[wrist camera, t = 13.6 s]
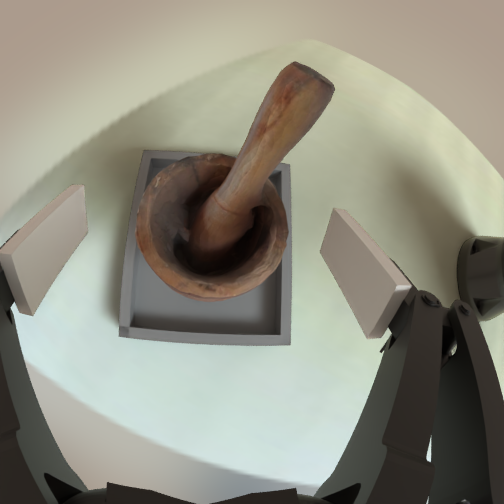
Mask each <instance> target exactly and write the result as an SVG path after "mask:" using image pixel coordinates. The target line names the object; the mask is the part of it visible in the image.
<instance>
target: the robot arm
mask: <svg viewBox="0 0 504 504" xmlns="http://www.w3.org/2000/svg"><path fill="white" fill-rule="evenodd" d="M87 233H88V225H87V216H86V205H85V191H84V185H71V186H70V187H68V188H67V189H66V190H65V191H63V192H62V193H61V194H60V195H58V196H57V197H56V198H55V199H53V200H52V201H51V202H50V203H49V204H48V205H46V206H45V207H44V208H43V209H42V210H41V211H39V212H38V213H37V214H36V215H35V216H34V217H33V218H32V219H31V220H29V221H28V222H27V223H26V224H25V225H24V226H23V227H22V228H21V229H19V230H17V231H16V232H15V233H14V234H13V235H12V236H11V238H9V239H8V240H7V241H6V243H4V244H3V245H2V246H1V247H0V504H195V503H191V502H188V501H184V500H180V499H177V498H173V497H170V496H167V495H164V494H161V493H158V492H155V491H152V490H146V489H139V488H133V487H128V486H122V485H118V484H113V483H109V482H107V488H102V489H94V490H88V489H87V487H86V486H85V485H84V483H83V482H82V480H81V479H80V478H79V477H78V476H77V474H76V473H75V472H74V471H73V470H72V469H71V467H70V466H69V465H68V463H67V462H66V460H65V458H64V457H63V455H62V453H61V451H60V449H59V447H58V445H57V443H56V441H55V439H54V437H53V435H52V433H51V431H50V429H49V427H48V425H47V422H46V420H45V418H44V415H43V413H42V411H41V408H40V406H39V403H38V400H37V398H36V395H35V392H34V389H33V387H32V384H31V381H30V378H29V375H28V372H27V368H26V365H25V361H24V358H23V354H22V350H21V347H20V343H19V338H18V334H17V330H16V325H15V320H14V315H13V312H12V310H11V308H10V307H11V306H12V304H13V303H14V301H15V304H16V306H17V308H18V311H19V313H22V314H26V315H31V316H33V315H34V314H35V312H36V310H37V308H38V307H39V305H40V303H41V302H42V300H43V298H44V296H45V295H46V293H47V292H48V290H49V288H50V287H51V285H52V284H53V282H54V280H55V279H56V277H57V276H58V274H59V273H60V271H61V270H62V268H63V267H64V265H65V264H66V262H67V261H68V259H69V258H70V257H71V255H72V254H73V252H74V251H75V250H76V248H77V247H78V245H79V244H80V243H81V241H82V240H83V239H84V237H85V236H86V235H87ZM320 253H321V255H322V257H323V258H324V260H325V262H326V264H327V265H328V267H329V269H330V271H331V273H332V274H333V276H334V278H335V280H336V281H337V283H338V285H339V287H340V289H341V291H342V292H343V294H344V296H345V298H346V300H347V302H348V304H349V305H350V307H351V309H352V311H353V313H354V315H355V317H356V319H357V321H358V323H359V324H360V326H361V328H362V330H363V332H364V334H365V336H366V338H367V339H373V338H381V337H382V336H383V334H384V333H385V331H386V330H387V328H388V327H389V329H390V331H391V333H392V334H391V336H390V337H389V339H388V340H387V342H386V343H385V345H384V346H383V348H382V349H381V350H380V352H381V353H382V352H383V351H384V354H383V357H382V360H381V363H380V366H379V369H378V372H377V375H376V378H375V380H374V383H373V386H372V389H371V391H370V394H369V396H368V399H367V401H366V404H365V406H364V409H363V411H362V414H361V416H360V418H359V421H358V423H357V425H356V428H355V430H354V432H353V434H352V436H351V438H350V440H349V443H348V445H347V447H346V449H345V451H344V453H343V455H342V457H341V459H340V461H339V462H338V464H337V466H336V468H335V470H334V471H333V473H332V474H331V476H330V477H329V478H328V479H327V480H326V481H325V482H324V483H323V484H322V486H321V487H320V488H319V489H318V491H317V492H316V494H315V495H314V497H312V496H308V495H302V494H297V491H296V488H293V489H286V490H279V491H270V492H262V493H261V492H260V493H251V494H247V495H243V496H240V497H236V498H232V499H228V500H225V501H220V502H216V503H211V504H426V502H427V499H428V496H429V501H428V504H504V400H503V396H502V392H501V388H500V384H499V380H498V377H497V373H496V370H495V367H494V363H493V360H492V357H491V354H490V351H489V348H488V346H487V343H486V340H485V337H484V335H483V332H482V329H481V327H480V324H479V322H480V321H488V320H491V319H493V318H495V317H497V316H498V315H500V314H502V313H504V237H490V236H476V237H474V238H471V239H468V240H467V241H465V243H464V244H463V246H462V248H461V250H460V254H459V258H458V270H457V274H458V287H459V292H460V297H461V300H462V301H460V300H455V301H454V303H453V304H452V306H451V307H450V309H449V308H445V307H442V305H441V302H440V301H439V300H438V299H437V298H436V297H435V296H434V295H433V294H431V293H429V292H427V291H423V290H420V291H418V290H417V289H416V287H415V286H414V285H413V284H412V282H411V281H410V280H409V279H408V277H407V276H406V275H404V273H403V271H402V270H400V268H399V267H398V265H397V264H396V263H395V262H394V261H393V260H391V259H390V258H389V257H388V256H387V255H386V254H385V253H384V251H383V250H382V249H381V248H380V247H379V246H378V245H377V243H376V242H375V241H374V240H373V239H372V238H371V237H370V236H369V235H368V233H367V232H366V231H365V230H364V229H363V228H362V227H361V226H360V225H359V224H358V223H357V221H356V220H355V219H354V218H353V217H352V216H351V215H350V214H349V213H348V212H347V211H346V210H342V209H336V208H333V211H332V214H331V218H330V221H329V224H328V228H327V231H326V234H325V237H324V240H323V243H322V246H321V250H320ZM456 344H457V349H456V352H455V353H454V355H452V353H451V351H452V349H453V348H454V347H455V345H456ZM430 438H431V462H429V461H427V459H426V456H427V451H428V447H429V442H430Z"/></svg>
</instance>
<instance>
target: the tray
mask: <svg viewBox="0 0 504 504" xmlns="http://www.w3.org/2000/svg"><path fill="white" fill-rule="evenodd" d="M202 154H203V153H191V152H176V151H158V150H144V152H143V156H142V160H141V164H140V168H139V173H138V178H137V182H136V187H135V192H134V197H133V203H132V208H131V214H130V220H129V227H128V233H127V240H126V248H125V256H124V265H123V274H122V286H121V299H120V316H119V337H126V338H134V339H143V340H153V341H164V342H176V343H191V344H210V345H244V346H277V345H290V343H291V298H292V225H291V180H290V164H285V163H279V165H278V166H277V167H276V168H275V169H274V171H273V172H272V173H271V175H270V176H269V180H270V181H271V182H272V184H273V185H274V186H275V187H276V190H277V192H278V195H279V197H280V198H281V200H282V202H283V204H284V207H285V210H286V216H287V223H288V230H289V234H288V237H287V240H286V242H287V246H286V248H285V250H284V252H283V256H282V259H281V262H280V264H279V265H278V267H277V268H276V269H275V271H274V272H273V273H272V274H271V275H270V276H269V277H268V278H267V279H266V280H265V281H264V282H263V283H261V284H260V285H259V286H257V287H256V288H254V289H253V290H251V291H249V292H247V293H245V294H242V295H240V296H238V297H233V298H231V299H227V300H223V301H215V302H204V301H197V300H193V299H190V298H187V297H185V296H182V295H181V294H179V293H177V292H175V291H173V290H172V289H171V288H170V287H169V286H167V285H166V284H165V283H164V282H163V281H162V280H161V279H160V278H159V277H158V276H157V275H156V274H155V272H154V271H153V270H152V269H151V267H150V266H149V265H148V263H147V262H146V260H145V258H144V256H143V254H142V253H141V251H140V249H139V248H138V245H137V242H136V237H135V229H136V220H137V212H138V208H139V205H140V202H141V199H142V197H143V194H144V192H145V190H146V188H147V187H148V185H149V184H150V183H151V181H152V180H153V178H154V177H155V176H156V175H157V174H158V173H159V172H160V171H162V170H163V169H164V168H166V167H168V166H169V165H171V164H173V163H175V162H177V161H179V160H181V159H183V158H185V157H188V156H199V155H202ZM231 157H233V156H231ZM235 158H237V157H235Z"/></svg>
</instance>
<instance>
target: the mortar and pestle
mask: <svg viewBox="0 0 504 504" xmlns="http://www.w3.org/2000/svg"><path fill="white" fill-rule="evenodd" d="M334 91H335V88H334V85H333V83H332V82H330V81H329V80H328V79H327V78H325V77H324V76H322V75H321V74H320V73H318V72H316V71H315V70H313V69H311V68H310V67H308V66H305V65H302V64H300V63H298V62H293V63H291V64H289V65H288V66H286V67H285V68H284V69H283V70H282V71H281V72H280V73H279V75H278V76H277V78H276V79H275V81H274V82H273V84H272V85H271V87H270V89H269V90H268V92H267V94H266V96H265V98H264V100H263V102H262V104H261V106H260V108H259V110H258V112H257V115H256V117H255V119H254V121H253V124H252V126H251V128H250V131H249V133H248V136H247V138H246V140H245V142H244V144H243V146H242V148H241V150H240V153H239V155H238V157H237V158H235V157H231V156H227V155H224V154H202V155H199V156H188V157H185V158H183V159H181V160H179V161H177V162H175V163H173V164H171V165H169V166H168V167H166V168H164V169H163V170H162V171H160V172H159V173H158V174H157V175H156V176H155V177H154V178H153V180H152V181H151V183H150V184H149V185H148V187H147V188H146V190H145V192H144V194H143V197H142V199H141V202H140V205H139V208H138V212H137V220H136V229H135V237H136V242H137V245H138V248H139V249H140V251H141V253H142V254H143V256H144V258H145V260H146V262H147V263H148V265H149V266H150V267H151V269H152V270H153V271H154V272H155V274H156V275H157V276H158V277H159V278H160V279H161V280H162V281H163V282H164V283H165V284H166V285H167V286H169V287H170V288H171V289H172V290H173V291H175V292H177V293H179V294H181V295H182V296H185V297H187V298H190V299H193V300H197V301H204V302H215V301H223V300H227V299H231V298H233V297H238V296H240V295H242V294H245V293H247V292H249V291H251V290H253V289H254V288H256V287H257V286H259V285H260V284H261V283H263V282H264V281H265V280H266V279H267V278H268V277H269V276H270V275H271V274H272V273H273V272H274V271H275V269H276V268H277V267H278V265H279V264H280V262H281V259H282V256H283V252H284V250H285V248H286V246H287V242H286V240H287V237H288V234H289V230H288V223H287V216H286V210H285V207H284V204H283V202H282V200H281V198H280V197H279V195H278V192H277V190H276V187H275V186H274V185H273V184H272V182H271V181H270V180H269V176H270V175H271V173H272V172H273V171H274V169H275V168H276V167H277V166H278V165H279V163H280V162H281V161H282V159H283V158H284V156H286V155H287V154H288V152H289V151H290V150H291V149H292V148H293V147H294V146H295V145H296V144H297V143H298V142H299V141H300V140H301V138H302V137H303V136H304V135H305V134H306V133H307V132H308V131H309V130H310V129H311V128H312V126H313V125H314V124H315V122H316V121H317V120H318V118H319V117H320V116H321V114H322V113H323V111H324V110H325V108H326V106H327V105H328V103H329V102H330V101H331V98H332V95H333V93H334Z"/></svg>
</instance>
